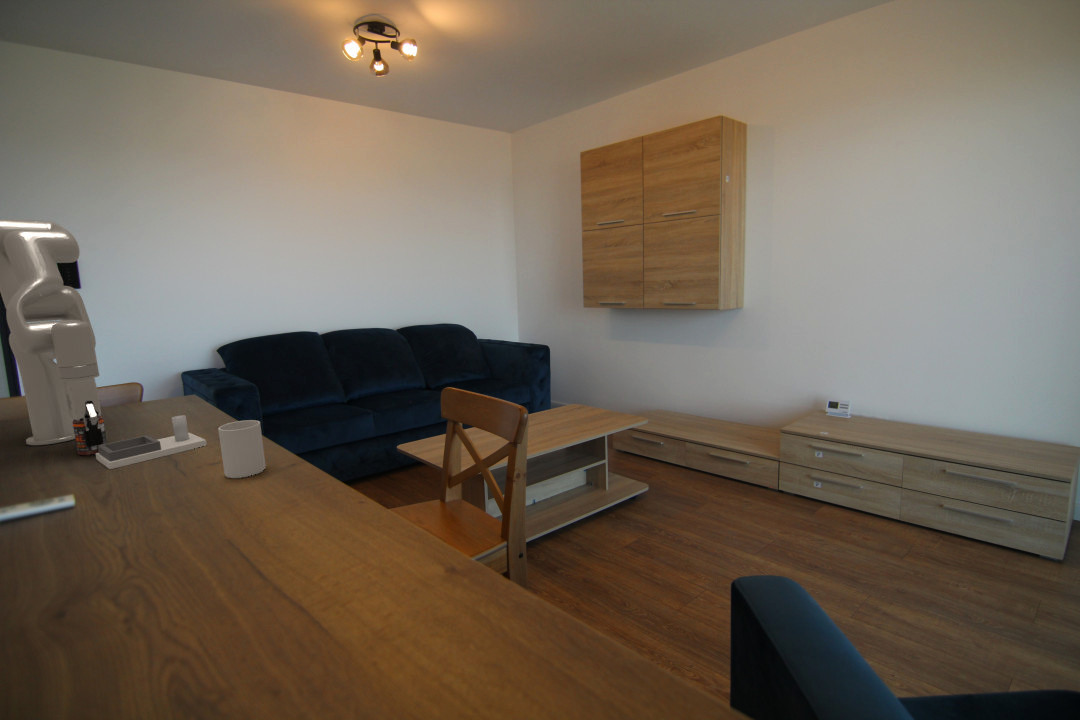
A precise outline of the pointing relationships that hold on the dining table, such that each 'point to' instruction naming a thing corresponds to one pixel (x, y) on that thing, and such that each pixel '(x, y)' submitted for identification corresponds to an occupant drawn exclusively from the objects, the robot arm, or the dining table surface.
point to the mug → (242, 448)
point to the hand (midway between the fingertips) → (91, 442)
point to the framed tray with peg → (149, 446)
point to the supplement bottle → (80, 437)
